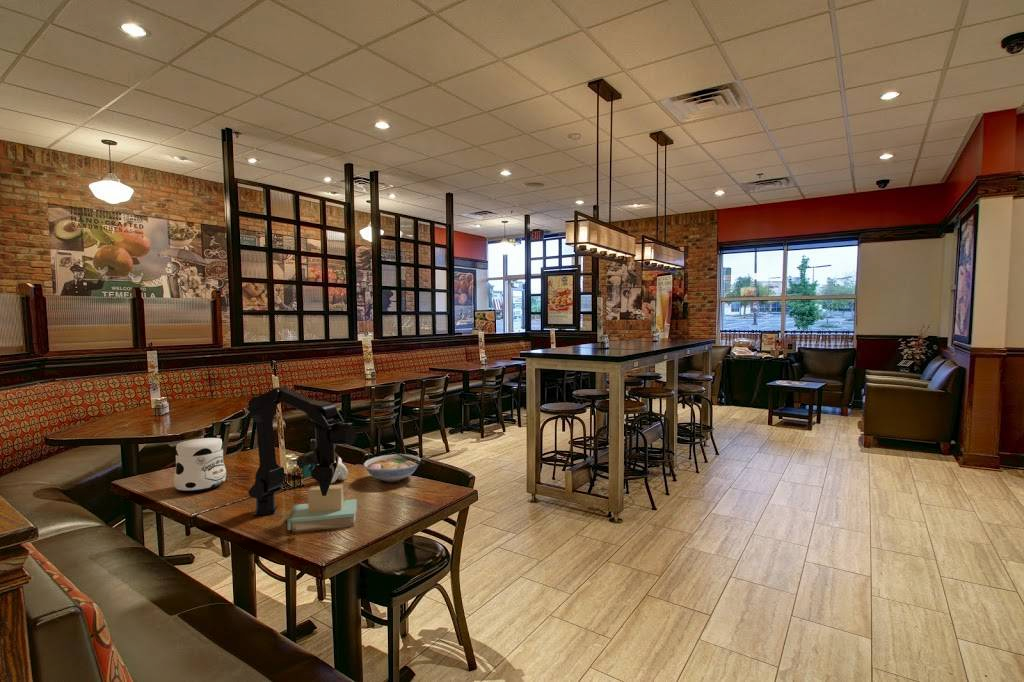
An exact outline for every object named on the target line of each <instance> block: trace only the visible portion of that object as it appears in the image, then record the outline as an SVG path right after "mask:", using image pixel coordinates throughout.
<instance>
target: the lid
mask: <svg viewBox="0 0 1024 682" xmlns="http://www.w3.org/2000/svg"><path fill="white" fill-rule="evenodd" d="M357 500H358V499H357V498H355V499H347V500H346V499H345V500H344V506H343V508H342V510H334V511H318V512H308V503H301V504H300V503H299V504H295V505H294V507H293V509H292V511H291V512H290V515H289V516H288V518H287V531H292V523H294V522H304V521H314V520H325V519H335V518H345V517H354V515H355V509H356V504H357V505H358V501H357Z"/></svg>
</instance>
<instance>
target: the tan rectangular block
mask: <svg viewBox="0 0 1024 682" xmlns="http://www.w3.org/2000/svg"><path fill="white" fill-rule="evenodd" d="M344 499H345V498H344V484H343V483H342V484H330V486H329V489H328V492H327V494H326V496H322V493H321V490H320V486H319V485H311V486H310V487H309V488H308V489H307V500H308V501H307V504H308V512H318V511H334V510H342V508H343V506H344Z"/></svg>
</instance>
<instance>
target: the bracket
mask: <svg viewBox="0 0 1024 682" xmlns="http://www.w3.org/2000/svg"><path fill="white" fill-rule="evenodd" d="M314 466H315V465H314V463H312V464H310V465H307V466H305V467H304V468H302V474H303V478H302V479H307V478H312V477H311V470H312V468H313V467H314Z"/></svg>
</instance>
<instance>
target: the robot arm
mask: <svg viewBox="0 0 1024 682" xmlns="http://www.w3.org/2000/svg"><path fill="white" fill-rule="evenodd" d="M281 403H284V404H286V405H288V406H290V407H293V408H294V409H297V410H299V411H301V412H304V413H305V414H306V416H307V418H308V419H310V420H311V421H313V423H312V424H311V425H310V426H309V427H308V428H309V429H310V430H314V432H315V435H314V437H315V439H314V440H315V447H314V448H313V450H312V451H308V452H305V453H303V454H301V455H299V456H297V458H296V459H295V460H296V461H297V465H298V466H299V468H300V469H302V468H304V467H305V466H307V465H310V464H312V463H314V465H315V466H314V467H313V468H312V470H311V477H310V478H312V479H313V480H315V481H317V482H318V483H317V484H318V486H320V490H321V493H322V496H326V494H327V492H328V489H329V486H330V485H332V484H331V481H332V478H333V476H334V473H335V470H336V467H337V465H338V461H339V457H340V456H339V454H338V453H337V452H336V445H345V446H353V445H354V444H355V443H356V441H357V438H358V431H357V430H356V428H355V426H353V425H354V424H353V422H345V420H344V419H343V417H342V415H341V414H340V412H339V410H338V409H337V406H336V404H335V403H333V402H330V401H329V402H328V401H326V400H325V401H324V400H316V399H312V398H311V397H308V396H306V395H304V394H301V393H299V392H297V391H295V390H292V389H290V388H289V387H287V386H280V387H279V386H278V387H274V388H273V389H270V390H269V391H267V392H265V393H263V394H260V395H257V396H252V397H251V398H250V399H249V401H248V405H247V406H248V411H249V415H250V417H251V418H252V419H253V421H254V422H255V425H256V435H257V436H256V437H257V438H256V439H257V447H258V457H259V458H258V460H259V467H258V468H257V471H256V473H255V475H254V476H255V480H254V484H253V485H252V486H251V487H250V488H249V490H248V495H249V498H252V499H255V511H254V512H253V514H252V516H253V517H257V516H268V515H274V514H275V513H276V512H277V510H278V508H279V507H278V506H279V505H276V496H275V495H276V493H277V492H280V491H281V489H282V485H283V484H284V482H285V478H286V477H285V474H284V468H283V467H282V466H281V467H280V465H279V464H278V463H277V457H276V445H275V436H274V435H275V434H274V423H273V422H274V421H273V420H274V418H275V415H276V414H277V411H278V410H277V409H278V405H280V404H281ZM335 461H336V462H335ZM318 464H319V465H318Z"/></svg>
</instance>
